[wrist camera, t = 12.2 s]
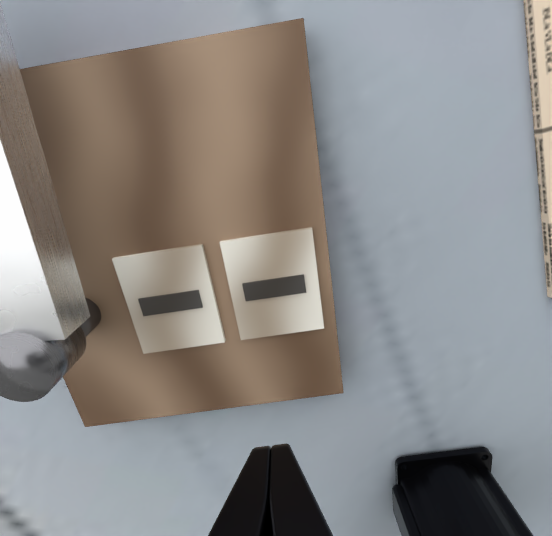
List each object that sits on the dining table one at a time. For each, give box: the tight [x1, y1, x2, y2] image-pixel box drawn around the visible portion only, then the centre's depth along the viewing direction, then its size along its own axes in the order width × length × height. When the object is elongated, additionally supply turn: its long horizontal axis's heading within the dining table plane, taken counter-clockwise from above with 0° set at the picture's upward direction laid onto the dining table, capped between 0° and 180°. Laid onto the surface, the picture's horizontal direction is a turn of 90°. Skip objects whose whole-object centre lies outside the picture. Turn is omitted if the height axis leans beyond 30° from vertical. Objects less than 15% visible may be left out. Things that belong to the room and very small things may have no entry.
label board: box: [20, 18, 343, 427], centre depth 17 cm, size 16×19×4 cm
